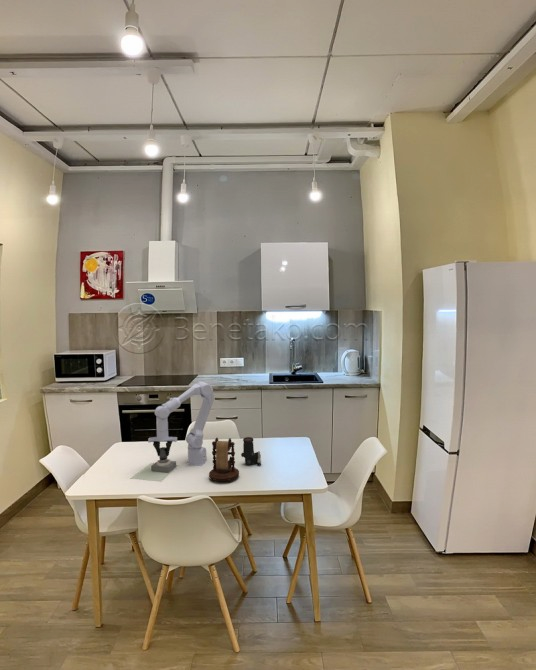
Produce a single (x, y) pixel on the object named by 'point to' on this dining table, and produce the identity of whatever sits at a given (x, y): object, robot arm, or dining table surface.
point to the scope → (250, 452)
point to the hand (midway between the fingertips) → (163, 455)
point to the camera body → (163, 466)
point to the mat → (151, 474)
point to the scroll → (223, 461)
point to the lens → (163, 453)
